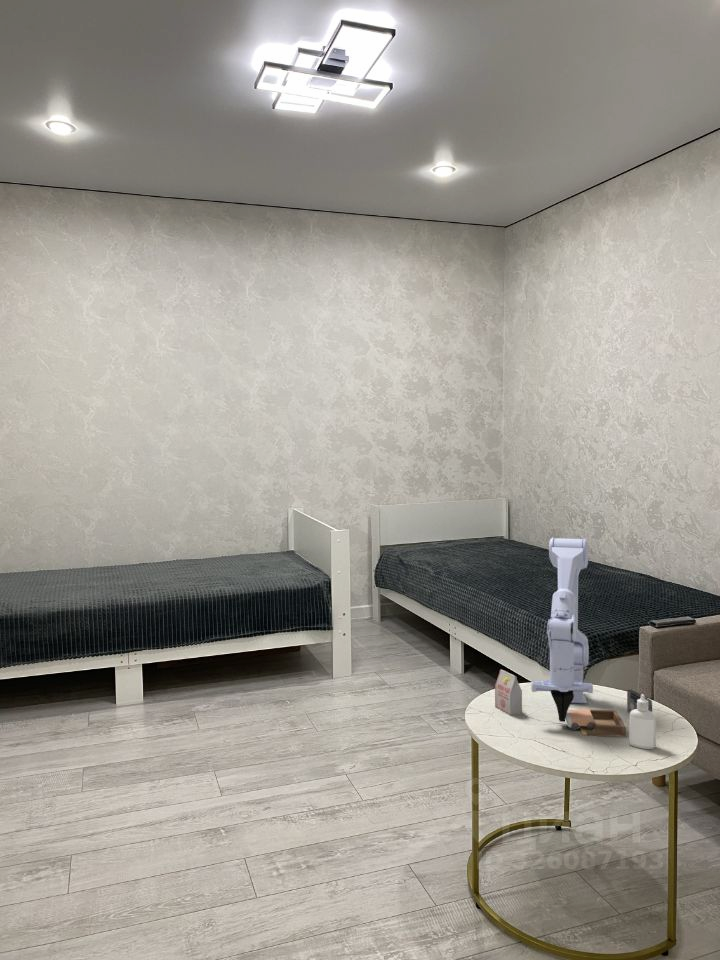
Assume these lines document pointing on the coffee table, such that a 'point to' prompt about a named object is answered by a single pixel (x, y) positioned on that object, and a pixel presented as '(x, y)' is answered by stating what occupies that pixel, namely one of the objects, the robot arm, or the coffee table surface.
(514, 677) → the gable top carton
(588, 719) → the trolley
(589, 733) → the tray
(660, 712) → the coffee table surface
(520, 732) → the coffee table surface
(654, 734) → the eye dropper bottle
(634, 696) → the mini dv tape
